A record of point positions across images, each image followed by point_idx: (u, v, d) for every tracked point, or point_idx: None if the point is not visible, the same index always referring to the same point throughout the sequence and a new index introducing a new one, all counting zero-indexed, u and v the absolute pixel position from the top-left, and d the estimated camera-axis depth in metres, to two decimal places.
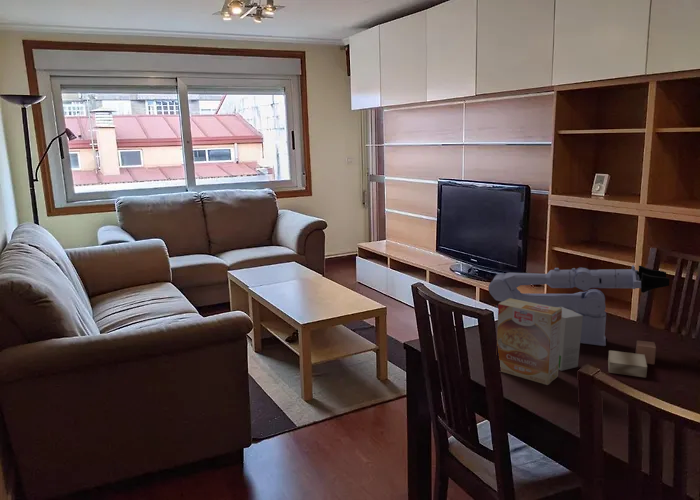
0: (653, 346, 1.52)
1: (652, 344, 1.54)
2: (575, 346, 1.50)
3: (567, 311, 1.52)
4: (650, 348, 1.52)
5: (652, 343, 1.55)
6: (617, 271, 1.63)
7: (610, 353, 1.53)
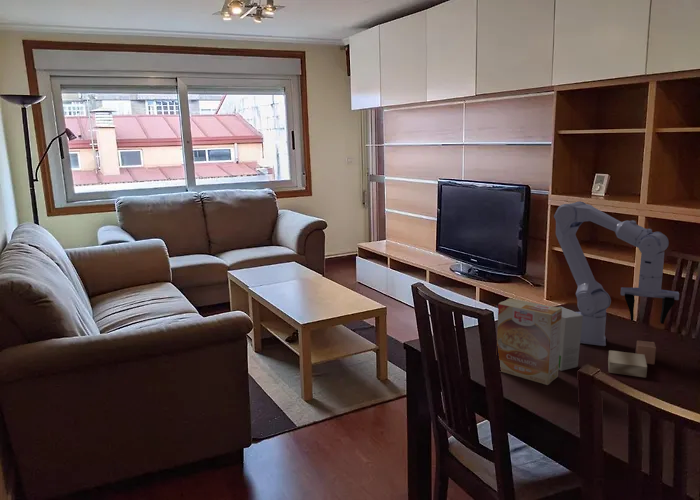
0: (653, 346, 1.52)
1: (652, 344, 1.54)
2: (575, 346, 1.50)
3: (567, 311, 1.52)
4: (650, 348, 1.52)
5: (652, 343, 1.55)
6: (646, 278, 1.52)
7: (610, 353, 1.53)
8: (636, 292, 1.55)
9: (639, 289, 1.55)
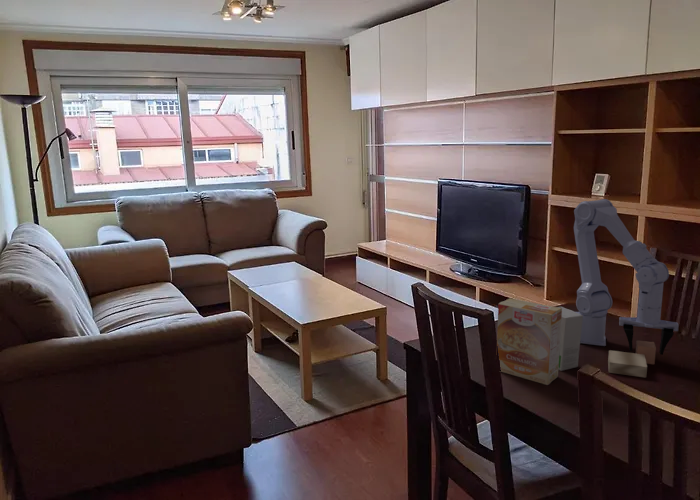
0: (653, 346, 1.52)
1: (652, 344, 1.54)
2: (575, 346, 1.50)
3: (567, 311, 1.52)
4: (650, 348, 1.52)
5: (652, 343, 1.55)
6: (645, 309, 1.50)
7: (610, 353, 1.53)
8: (635, 323, 1.53)
9: (638, 319, 1.53)
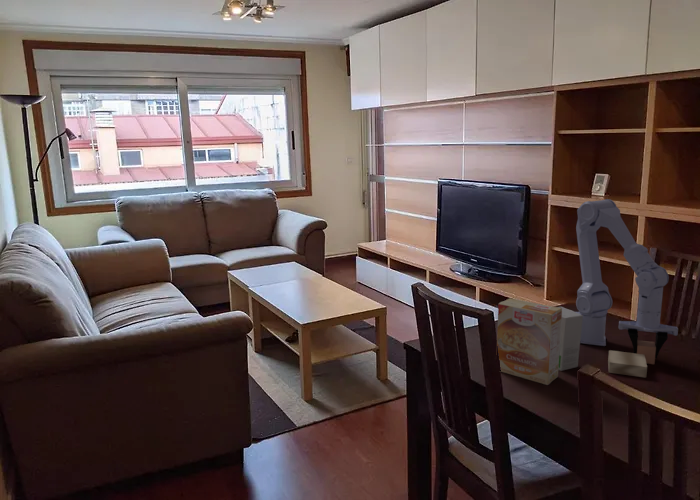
0: (653, 346, 1.52)
1: (652, 344, 1.54)
2: (575, 346, 1.50)
3: (567, 311, 1.52)
4: (650, 348, 1.52)
5: (652, 343, 1.55)
6: (645, 313, 1.51)
7: (610, 353, 1.53)
8: (634, 327, 1.53)
9: (637, 323, 1.53)
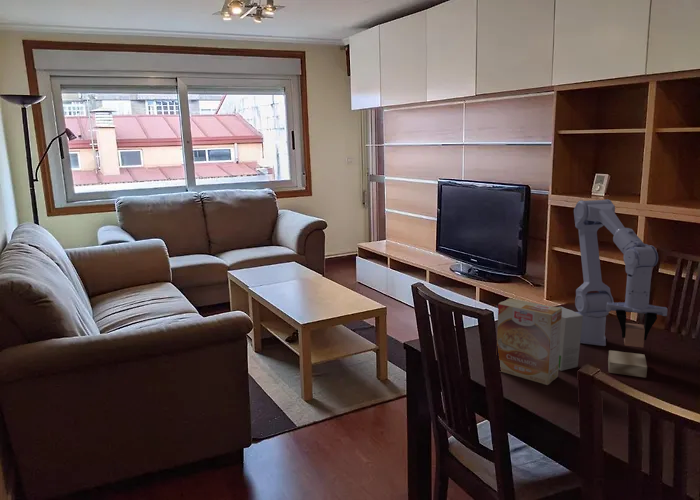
0: (642, 328, 1.47)
1: (641, 326, 1.49)
2: (575, 346, 1.50)
3: (567, 311, 1.52)
4: (639, 331, 1.47)
5: (641, 325, 1.49)
6: (633, 293, 1.45)
7: (610, 353, 1.53)
8: (623, 308, 1.47)
9: (626, 304, 1.48)
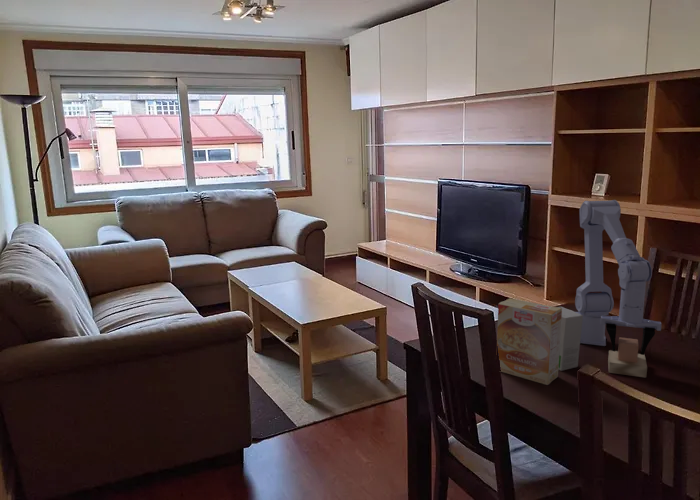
0: (636, 343, 1.47)
1: (635, 341, 1.48)
2: (575, 346, 1.50)
3: (567, 311, 1.52)
4: (633, 346, 1.46)
5: (635, 340, 1.49)
6: (627, 308, 1.45)
7: (610, 353, 1.53)
8: (616, 322, 1.47)
9: (620, 318, 1.47)
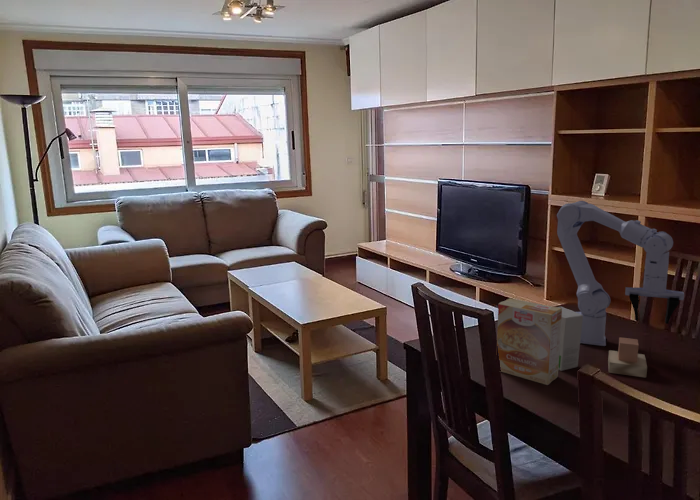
0: (636, 343, 1.47)
1: (635, 341, 1.48)
2: (575, 346, 1.50)
3: (567, 311, 1.52)
4: (633, 346, 1.46)
5: (635, 340, 1.49)
6: (651, 278, 1.52)
7: (610, 353, 1.53)
8: (641, 292, 1.54)
9: (644, 289, 1.55)
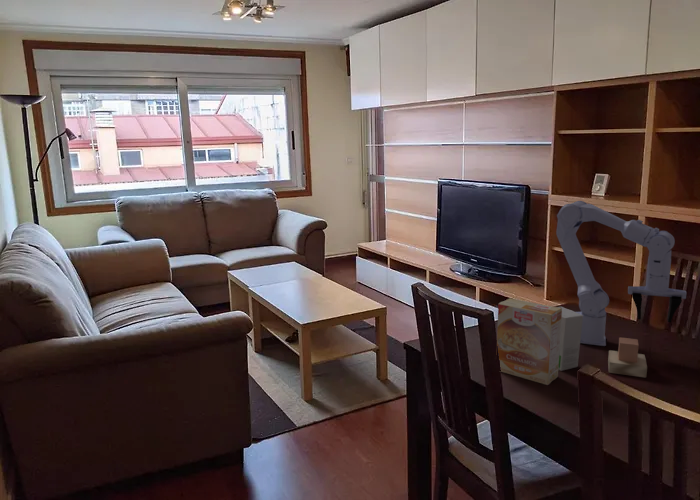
0: (636, 343, 1.47)
1: (635, 341, 1.48)
2: (575, 346, 1.50)
3: (567, 311, 1.52)
4: (633, 346, 1.46)
5: (635, 340, 1.49)
6: (654, 277, 1.53)
7: (610, 353, 1.53)
8: (643, 291, 1.56)
9: (646, 288, 1.56)
